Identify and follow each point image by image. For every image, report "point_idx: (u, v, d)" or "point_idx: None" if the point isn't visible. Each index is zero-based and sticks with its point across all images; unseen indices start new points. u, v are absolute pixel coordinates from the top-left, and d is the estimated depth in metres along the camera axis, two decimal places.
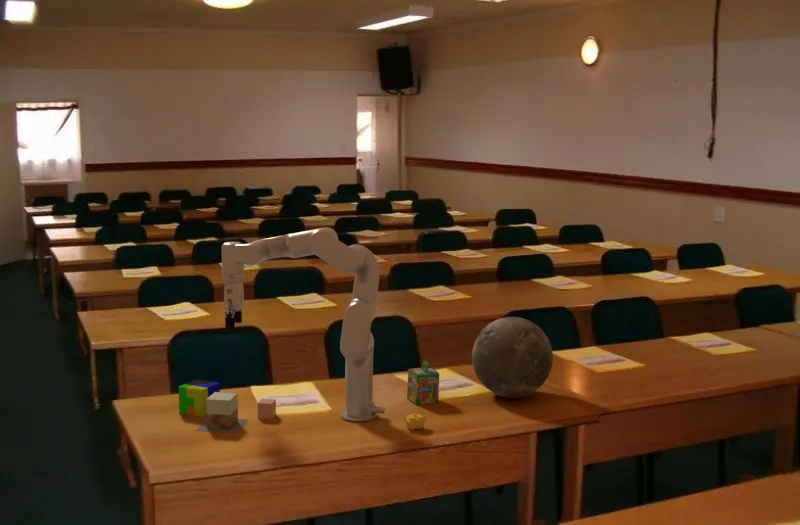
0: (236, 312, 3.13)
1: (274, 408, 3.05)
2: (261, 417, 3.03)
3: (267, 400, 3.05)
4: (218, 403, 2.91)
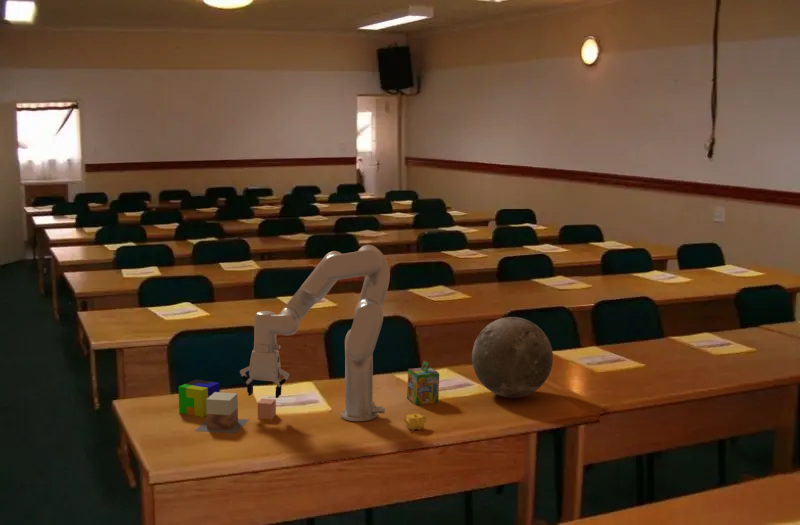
0: (251, 384, 3.04)
1: (274, 408, 3.05)
2: (261, 417, 3.03)
3: (267, 400, 3.05)
4: (218, 403, 2.91)
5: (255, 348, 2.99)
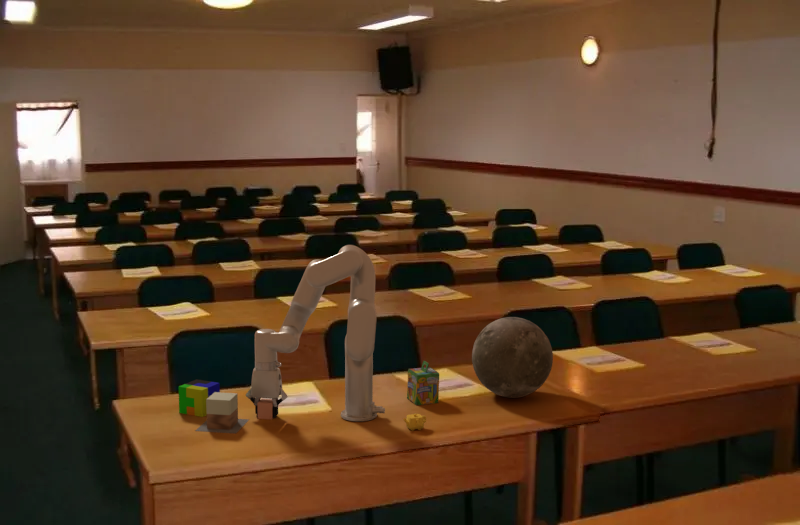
0: None
1: None
2: (261, 417, 3.03)
3: (267, 400, 3.05)
4: (218, 403, 2.91)
5: (256, 366, 3.00)
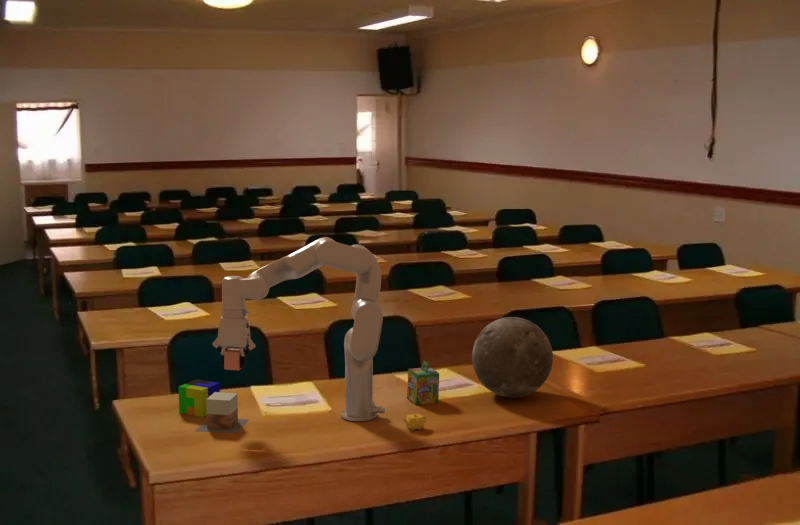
0: None
1: None
2: (228, 366, 2.94)
3: (234, 350, 2.95)
4: (218, 403, 2.91)
5: (223, 314, 2.91)
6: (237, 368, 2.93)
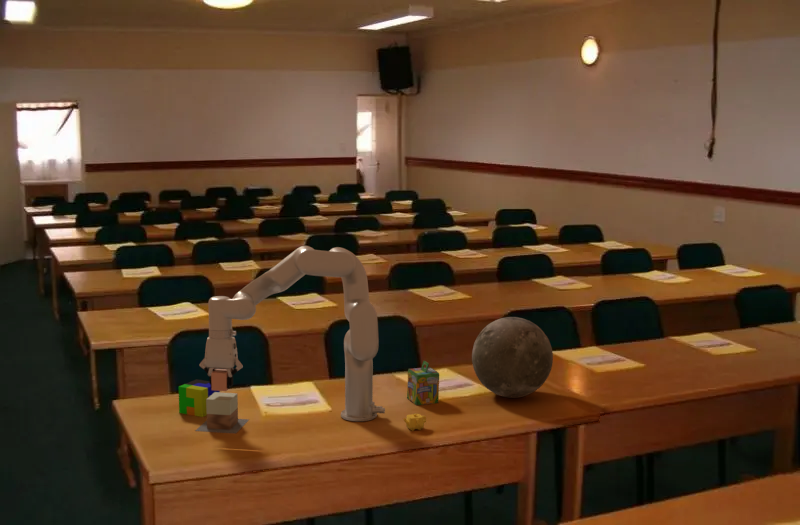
0: None
1: None
2: (215, 387, 2.92)
3: (221, 370, 2.94)
4: (218, 403, 2.91)
5: (210, 335, 2.89)
6: (224, 389, 2.91)
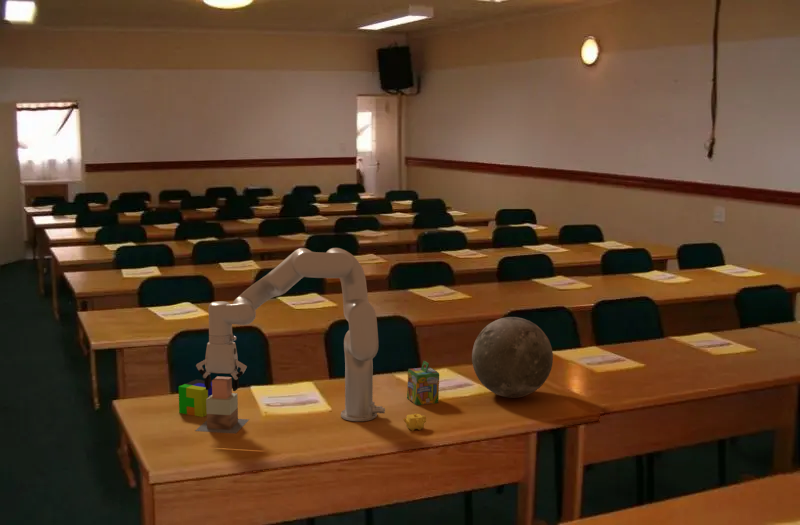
0: (208, 377, 2.94)
1: (230, 386, 2.95)
2: (216, 395, 2.92)
3: (222, 378, 2.94)
4: (218, 403, 2.91)
5: (210, 340, 2.89)
6: (225, 397, 2.92)
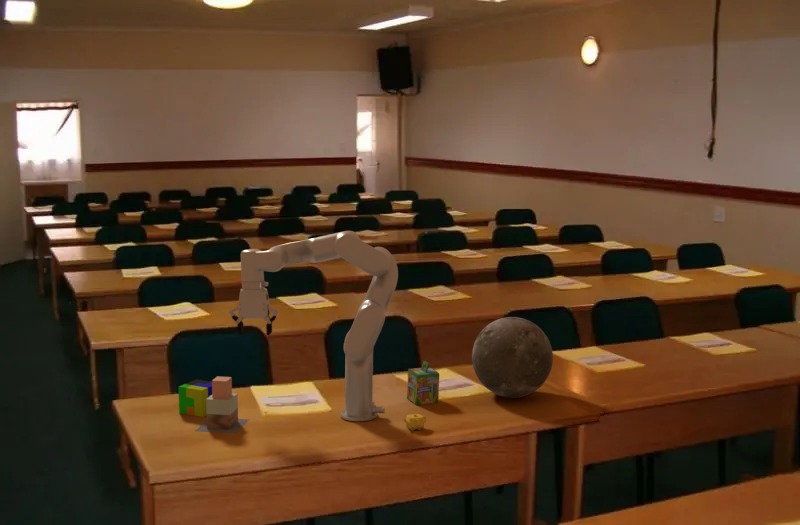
0: (241, 323, 3.03)
1: (230, 386, 2.95)
2: (216, 395, 2.92)
3: (222, 378, 2.94)
4: (218, 403, 2.91)
5: (243, 286, 2.99)
6: (225, 397, 2.92)
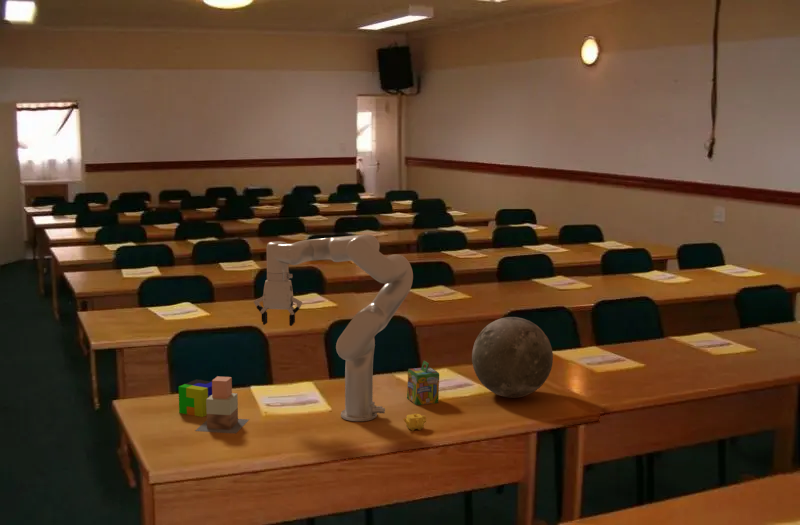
0: (265, 313, 3.12)
1: (230, 386, 2.95)
2: (216, 395, 2.92)
3: (222, 378, 2.94)
4: (218, 403, 2.91)
5: (268, 277, 3.07)
6: (225, 397, 2.92)
